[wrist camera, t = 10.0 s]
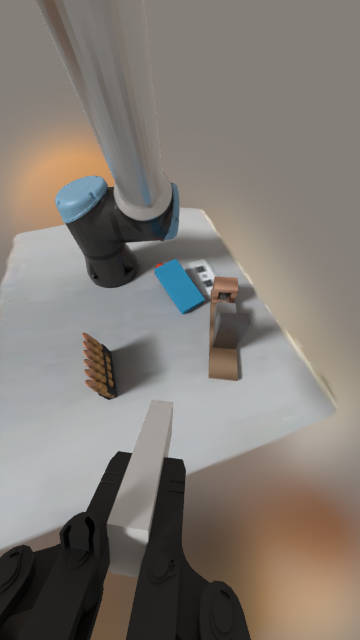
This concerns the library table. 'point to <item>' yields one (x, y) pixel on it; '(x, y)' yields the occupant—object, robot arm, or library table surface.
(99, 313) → the library table surface
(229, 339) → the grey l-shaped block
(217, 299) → the wooden bar with block
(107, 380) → the ammunition clip
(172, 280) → the blue block
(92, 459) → the library table surface
